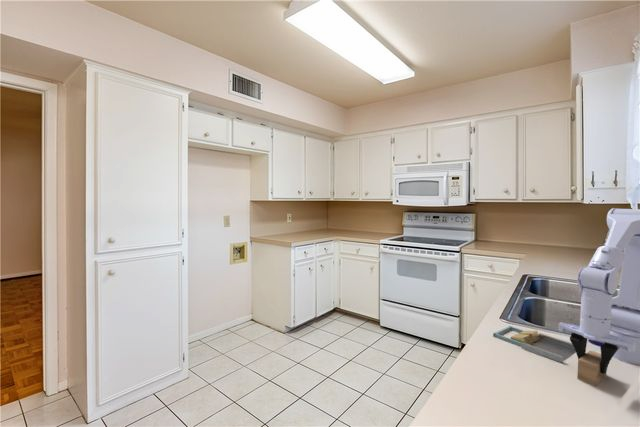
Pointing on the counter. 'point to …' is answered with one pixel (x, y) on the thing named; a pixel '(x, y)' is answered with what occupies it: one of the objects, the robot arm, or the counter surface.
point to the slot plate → (550, 348)
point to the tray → (498, 335)
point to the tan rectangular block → (590, 368)
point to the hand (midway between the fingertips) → (592, 368)
